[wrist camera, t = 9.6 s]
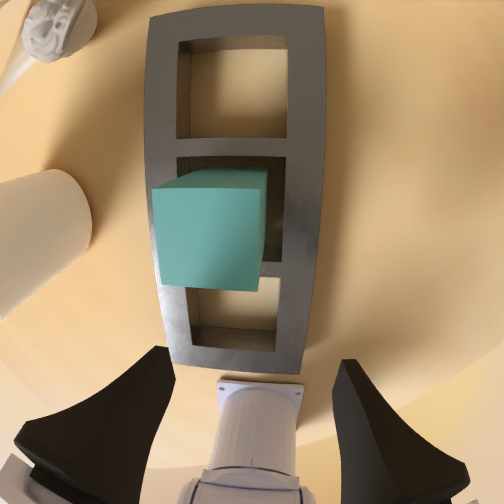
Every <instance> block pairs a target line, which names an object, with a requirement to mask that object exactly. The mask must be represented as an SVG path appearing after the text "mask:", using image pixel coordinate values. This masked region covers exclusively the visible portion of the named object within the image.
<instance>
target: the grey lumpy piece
mask: <svg viewBox="0 0 504 504" xmlns="http://www.w3.org/2000/svg"><path fill="white" fill-rule="evenodd" d="M95 7H96V5H95V4H94V3H93V1H91V0H41V1H40V2H38V3H36V4H35V5H33V6H32V8H31V10H30V13H29V15H28V17H27V18H26V19H25V23H24V27H23V29H22V42H23V46H24V49H25V51H26V52H27V53H28V54H29V55H30V56H32V57H33V58H36V59H39V61H41V62H43V63H51V62H54V61H56V60H59V59H60V58H65V57H69V56H71V55H72V54H73V53H75V52H77V51H78V50H80V49H81V48H82V47H84V46H85V45H86V44H87V43H88V42H89V40H90V39H91V37H92V36H93V34H94V32H95V30H96V27H97V22H98V16H97V12H96V9H95Z"/></svg>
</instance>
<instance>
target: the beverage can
mask: <svg viewBox="0 0 504 504" xmlns="http://www.w3.org/2000/svg"><path fill="white" fill-rule="evenodd" d="M91 234H92V218H91V212H90V208H89V204H88V201H87V199H86V196H85V194H84V192H83V190H82V189H81V187H80V185H79V184H78V183H77V182H76V180H75V179H74V178H73V177H71V176H70V175H69V174H67V173H66V172H64V171H61V170H58V169H50V170H46V171H42V172H38V173H34V174H31V175H27V176H24V177H20V178H17V179H14V180H10V181H7V182H4V183H1V184H0V323H1V322H2V321H3V320H4V319H5V318H6V317H7V316H8V315H10V314H11V313H12V312H13V311H14V310H15V309H17V308H18V307H19V306H20V305H21V304H22V303H24V302H25V301H26V300H27V299H28V298H30V297H31V296H32V295H33V294H35V293H36V292H37V291H38V290H40V289H41V288H42V287H43V286H45V285H46V284H47V283H48V282H50V281H51V280H52V279H54V278H55V277H56V276H57V275H59V274H60V273H61V272H63V271H64V270H65V269H67V268H68V267H69V266H71V265H72V264H74V263H75V262H76V261H78V260H79V259H80V258H81V257H82V256H83V255H84V254H85V252H86V251H87V249H88V246H89V244H90V240H91Z"/></svg>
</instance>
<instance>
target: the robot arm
mask: <svg viewBox="0 0 504 504" xmlns="http://www.w3.org/2000/svg"><path fill="white" fill-rule="evenodd" d="M175 381H176V378H175V374H174V370H173V366H172V361H171V357H170V352H169V348H168V347H162V346H154V347H153V348H152V349H151V350H150V351H149V352H147V353H146V354H145V355H144V356H143V357H142V358H141V359H140V360H138V361H137V362H136V363H135V364H134V365H133V366H132V367H130V368H129V369H128V370H127V371H126V372H124V373H123V374H122V375H121V376H120V377H118V378H117V379H116V380H114V381H113V382H112V383H110V384H109V385H108V386H106V387H105V388H103V389H102V390H101V391H99V392H98V393H96V394H94V395H93V396H91V397H89V398H88V399H86V400H84V401H82V402H80V403H78V404H76V405H74V406H72V407H70V408H68V409H65V410H63V411H60V412H58V413H55V414H52V415H49V416H46V417H42V418H38V419H35V420H30V421H26V422H25V424H24V425H23V427H22V428H21V430H20V431H19V433H18V434H17V436H16V438H15V439H14V443H15V445H16V446H17V448H18V449H19V450H20V451H21V452H23V453H24V454H25V455H26V456H27V457H28V458H29V459H30V460H31V461H32V462H33V463H34V464H35V466H34V468H32V467H30V466H29V465H28V464H26V463H25V462H23V461H22V460H21V459H19V458H18V457H17V456H15V455H14V454H10V456H9V458H8V459H7V461H6V463H5V464H4V466H3V468H2V469H1V471H0V497H1V498H2V499H4V500H5V501H6V502H7V503H8V504H139V500H140V493H141V487H142V482H143V477H144V473H145V468H146V464H147V460H148V456H149V453H150V449H151V445H152V443H153V440H154V437H155V435H156V432H157V430H158V428H159V425H160V423H161V420H162V418H163V416H164V413H165V411H166V409H167V406H168V404H169V401H170V399H171V395H172V392H173V388H174V384H175ZM216 385H217V394H218V403H219V411H220V419H219V424H218V428H217V433H216V437H215V442H214V446H213V451H212V455H211V460H210V464H209V469H208V470H207V469H204V470H203V472H202V476H201V478H193V479H192V480H190V481H189V482H187V483H186V484H185V485H184V486H183V488H182V490H181V492H180V495H179V498H178V501H177V504H316V501H315V496H314V494H313V493H312V492H311V491H310V490H309V489H308V488H307V487H306V486H300V487H299V477H295V454H296V423H297V419H298V415H299V410H300V406H301V402H302V398H303V393H304V386H303V385H300V384H273V383H257V382H244V381H233V380H223V379H220V380H218V381H217V384H216ZM222 387H223V388H222ZM297 392H298V393H297ZM332 398H333V413H334V419H335V425H336V431H337V437H338V443H339V448H340V455H341V477H342V478H341V480H342V481H341V504H452V502H451V498H452V497H453V496H455V495H456V494H458V493H459V492H461V491H462V490H463V489H465V488H466V487H467V486H468V485H469V484H470V477H469V474H468V471H467V468H466V466H465V463H463V462H461V461H459V460H457V459H455V458H453V457H450V456H449V455H447V454H445V453H444V452H442V451H441V450H439V449H438V448H436V447H434V446H433V445H432V444H430V443H429V442H427V441H426V440H425V439H424V438H422V437H421V436H420V435H419V434H417V433H416V432H415V431H414V430H413V429H412V428H411V427H410V426H408V425H407V424H406V423H405V422H404V421H403V420H402V419H401V418H400V417H399V415H398V414H397V413H396V412H395V411H394V410H393V409H392V407H391V406H390V405H389V404H388V403H387V402H386V400H385V399H384V398H383V396H382V395H381V394H380V393H379V391H378V390H377V389H376V387H375V386H374V384H373V383H372V382H371V380H370V379H369V377H368V376H367V375H366V373H365V372H364V370H363V369H362V367H361V366H360V364H359V363H358V361H357V360H356V359H342V360H341V364H340V367H339V371H338V374H337V377H336V380H335V384H334V387H333V390H332ZM467 504H479V503H478V500H474V501H472V502H470V503H467Z"/></svg>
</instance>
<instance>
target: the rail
mask: <svg viewBox="0 0 504 504" xmlns="http://www.w3.org/2000/svg"><path fill="white" fill-rule="evenodd" d="M232 49H287V107H286V138H259V137H223V138H194V139H190V75H191V53H195V52H205V51H216V50H232ZM325 125H326V53H325V27H324V9H323V7H317V6H307V5H292V4H240V5H225V6H214V7H205V8H198V9H191V10H184V11H179V12H173V13H168V14H163V15H159V16H154V17H150V21H149V30H148V40H147V51H146V66H145V86H144V158H145V179H146V195H147V208H148V219H149V229H150V239H151V247H152V255H153V263H154V270H155V277H156V284H157V290H158V296H159V302H160V308H161V314H162V319H163V324H164V330H165V335H166V339H167V344H168V348H169V352H170V357H171V361H172V363H176V364H182V365H189V366H196V367H204V368H212V369H221V370H231V371H242V372H254V373H271V374H296V375H300V369H301V364H302V358H303V352H304V346H305V340H306V333H307V327H308V320H309V313H310V306H311V299H312V291H313V283H314V275H315V266H316V257H317V248H318V238H319V227H320V216H321V203H322V189H323V173H324V153H325ZM190 156H275V157H285V183H284V208H283V229H282V247H274V246H264V251H263V257H262V264H261V271H260V277H276V278H280V282H279V297H278V311H277V325H276V331H263V330H247V329H234V328H222V327H211V326H201V325H200V317H199V307H198V297H197V288H193V287H181V286H170V285H161V278H160V270H159V263H158V254H157V245H156V236H155V226H154V214H153V201H152V188H155V187H157V186H159V185H162V184H164V183H167V182H169V181H171V180H174V179H176V178H179V177H181V176H184V175H186V174H189V173H190Z"/></svg>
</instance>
